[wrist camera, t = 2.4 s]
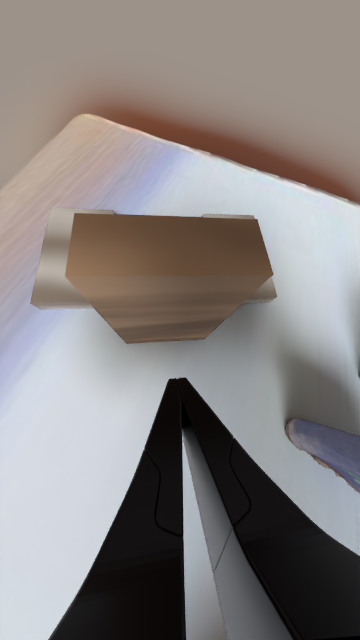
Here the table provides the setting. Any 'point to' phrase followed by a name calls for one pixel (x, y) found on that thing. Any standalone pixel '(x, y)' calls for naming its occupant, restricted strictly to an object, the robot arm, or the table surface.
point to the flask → (328, 448)
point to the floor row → (50, 276)
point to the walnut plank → (165, 271)
